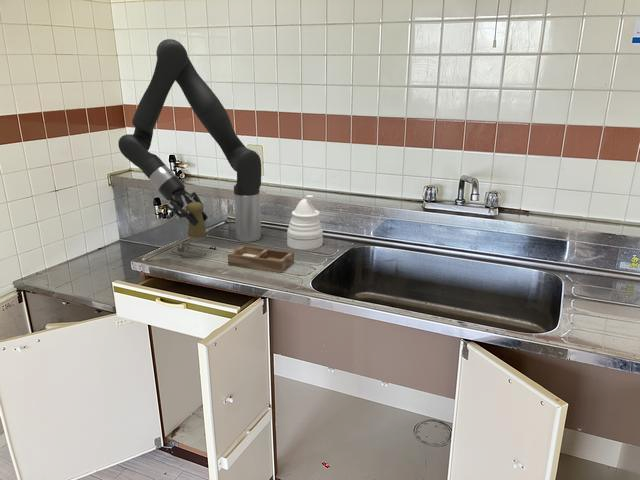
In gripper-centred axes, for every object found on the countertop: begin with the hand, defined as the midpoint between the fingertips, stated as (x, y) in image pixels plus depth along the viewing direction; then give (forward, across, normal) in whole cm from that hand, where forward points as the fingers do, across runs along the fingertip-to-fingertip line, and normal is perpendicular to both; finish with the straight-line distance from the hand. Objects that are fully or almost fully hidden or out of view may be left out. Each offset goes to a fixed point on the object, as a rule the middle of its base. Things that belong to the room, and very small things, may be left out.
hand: (201, 221), depth 167 cm
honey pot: (+28, +26, -9) cm, 39 cm away
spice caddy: (+23, +2, -6) cm, 24 cm away
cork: (+2, 0, +5) cm, 5 cm away
